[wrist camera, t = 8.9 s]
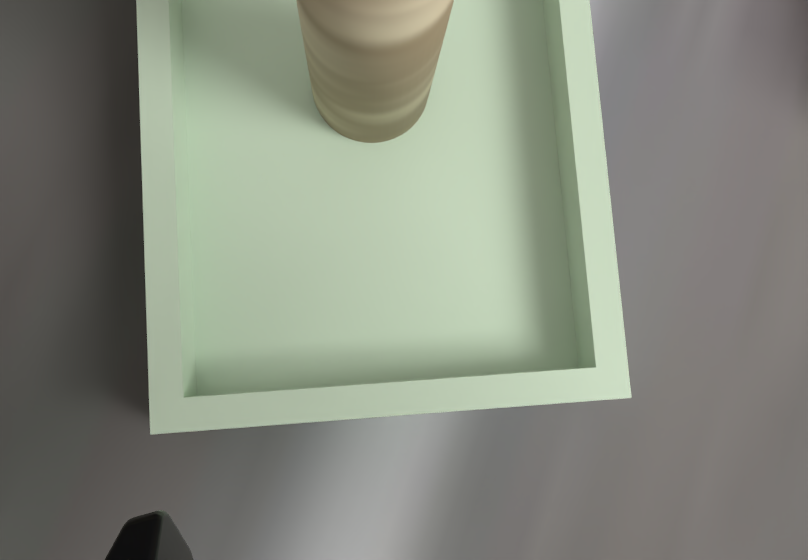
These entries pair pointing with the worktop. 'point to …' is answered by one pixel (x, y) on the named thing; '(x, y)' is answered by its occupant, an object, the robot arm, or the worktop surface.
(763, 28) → the worktop surface
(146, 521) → the robot arm
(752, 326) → the worktop surface
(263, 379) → the sage tray
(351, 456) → the worktop surface
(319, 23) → the dowel
